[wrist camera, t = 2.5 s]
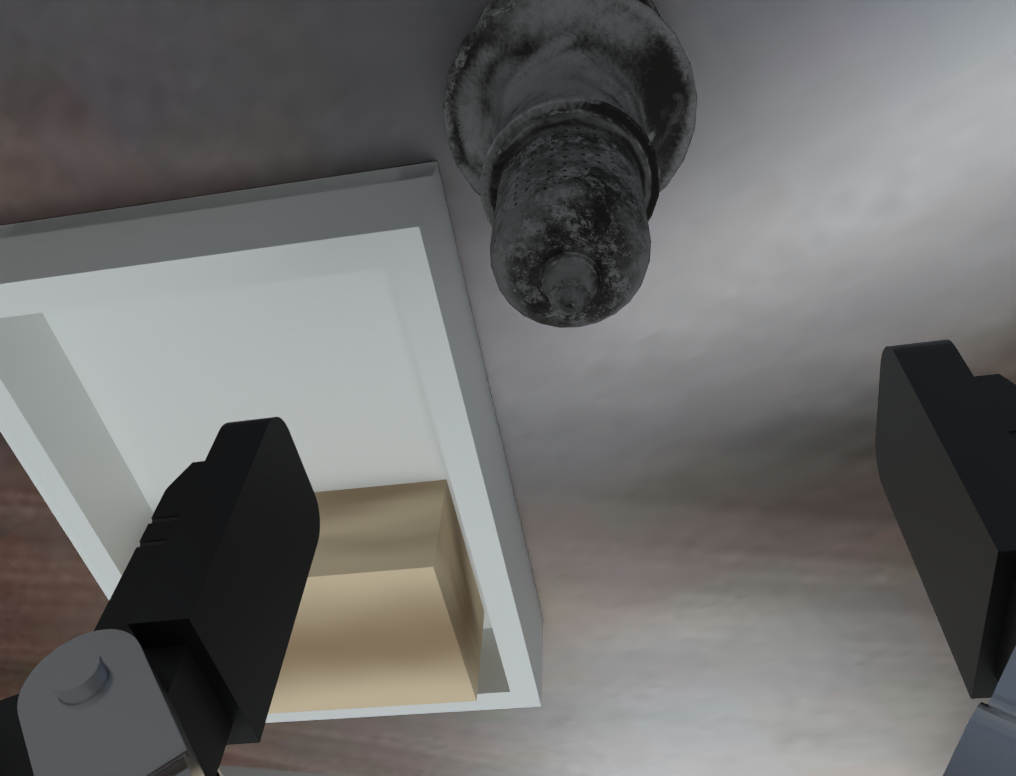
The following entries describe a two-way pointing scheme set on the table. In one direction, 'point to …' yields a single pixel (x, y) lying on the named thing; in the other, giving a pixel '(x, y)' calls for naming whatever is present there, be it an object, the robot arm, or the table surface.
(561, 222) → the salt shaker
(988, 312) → the table surface
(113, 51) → the table surface
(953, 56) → the table surface
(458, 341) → the tray
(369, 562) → the oak block
